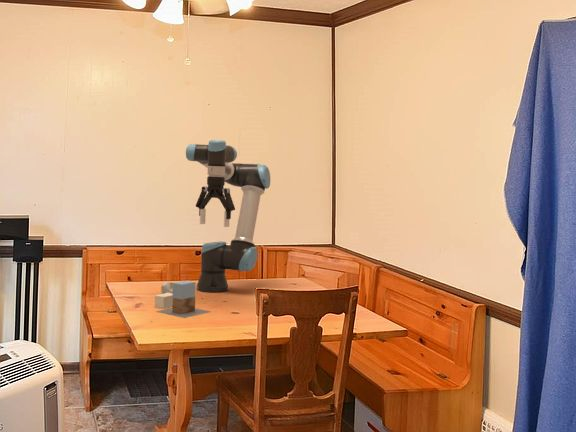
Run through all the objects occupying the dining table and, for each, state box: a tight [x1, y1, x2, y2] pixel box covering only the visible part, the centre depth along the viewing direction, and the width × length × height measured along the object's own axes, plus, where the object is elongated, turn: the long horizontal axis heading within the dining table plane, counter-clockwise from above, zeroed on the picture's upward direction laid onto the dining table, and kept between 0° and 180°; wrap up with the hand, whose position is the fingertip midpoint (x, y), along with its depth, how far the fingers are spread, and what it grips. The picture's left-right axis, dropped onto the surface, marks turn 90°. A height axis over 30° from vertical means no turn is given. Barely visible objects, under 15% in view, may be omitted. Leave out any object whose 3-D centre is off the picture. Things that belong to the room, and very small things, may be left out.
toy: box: [160, 280, 174, 294], centre depth 303 cm, size 6×12×15 cm
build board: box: [154, 307, 212, 319], centre depth 283 cm, size 16×16×1 cm
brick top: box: [172, 280, 196, 299], centre depth 282 cm, size 8×5×6 cm, turn 146°
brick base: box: [171, 296, 196, 314], centre depth 283 cm, size 8×5×6 cm, turn 145°
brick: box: [154, 293, 173, 310], centre depth 291 cm, size 8×5×6 cm, turn 146°
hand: (214, 225), depth 301 cm, fingers open, 13 cm apart
